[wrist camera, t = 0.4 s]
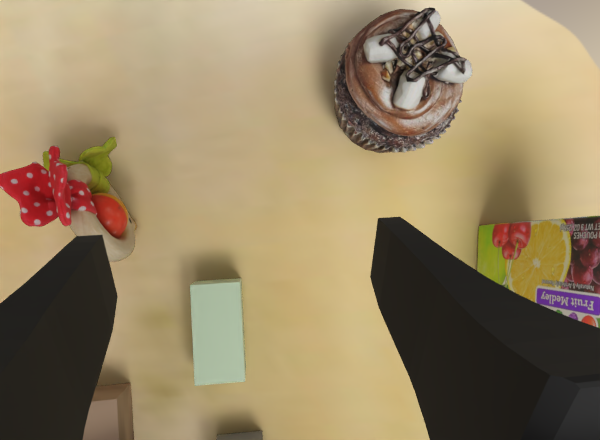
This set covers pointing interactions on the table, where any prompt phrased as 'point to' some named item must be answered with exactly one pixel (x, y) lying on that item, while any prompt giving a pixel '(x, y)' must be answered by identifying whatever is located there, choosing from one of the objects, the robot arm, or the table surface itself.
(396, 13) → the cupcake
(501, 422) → the robot arm
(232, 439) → the gray brick
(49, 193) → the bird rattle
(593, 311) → the snack box
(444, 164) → the table surface
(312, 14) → the table surface
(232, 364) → the sage brick
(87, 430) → the walnut brick
